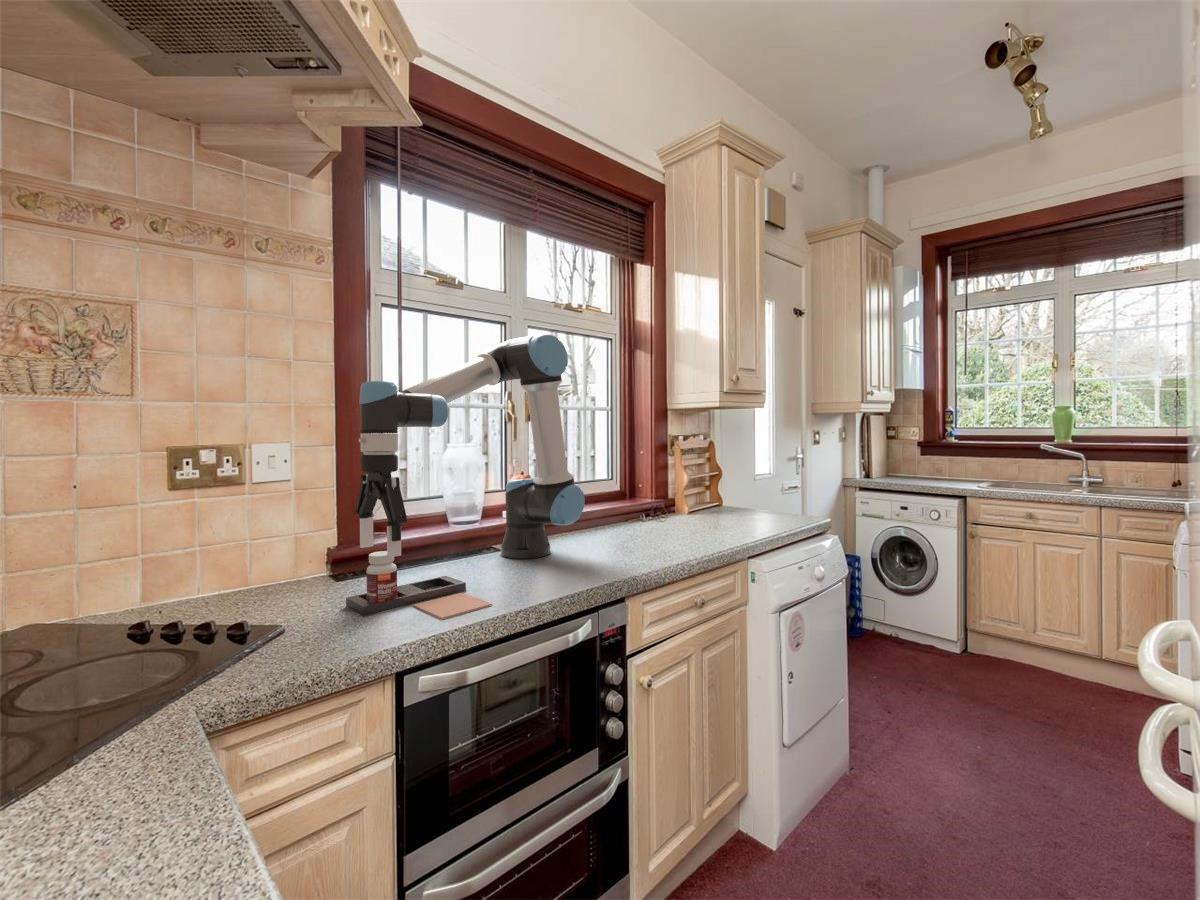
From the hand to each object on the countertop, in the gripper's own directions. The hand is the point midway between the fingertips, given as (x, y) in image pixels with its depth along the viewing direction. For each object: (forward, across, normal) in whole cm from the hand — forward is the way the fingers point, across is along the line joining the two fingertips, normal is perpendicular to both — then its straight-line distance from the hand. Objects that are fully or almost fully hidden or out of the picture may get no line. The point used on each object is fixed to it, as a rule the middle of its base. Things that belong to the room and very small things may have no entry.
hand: (380, 551), depth 117 cm
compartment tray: (+12, 0, +6) cm, 13 cm away
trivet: (+12, +12, +10) cm, 20 cm away
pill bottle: (+12, 0, 0) cm, 12 cm away
